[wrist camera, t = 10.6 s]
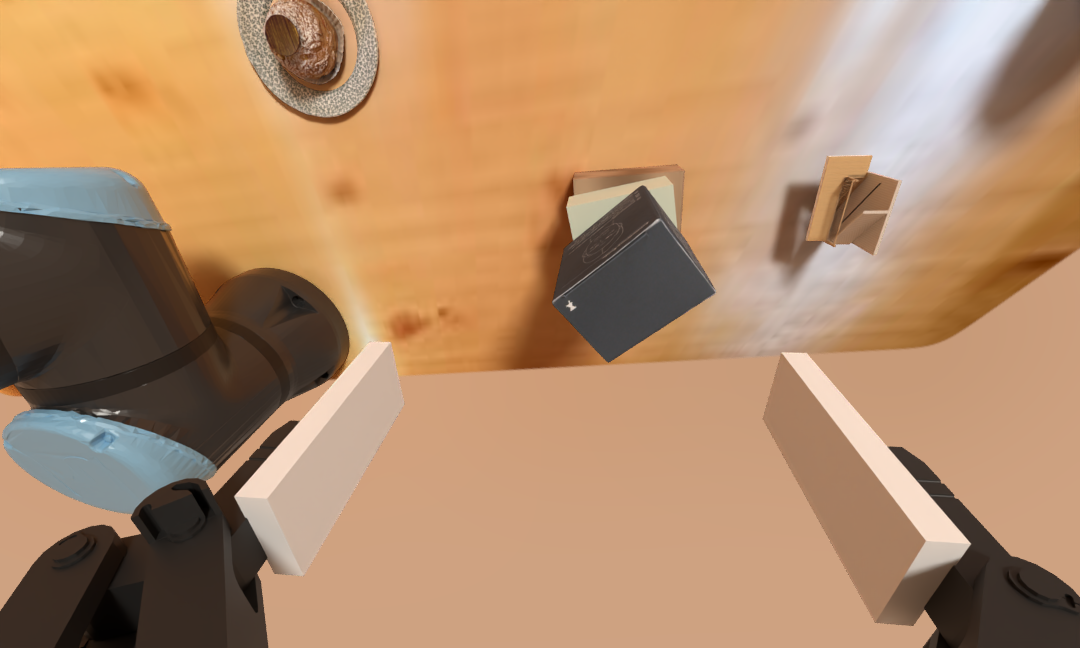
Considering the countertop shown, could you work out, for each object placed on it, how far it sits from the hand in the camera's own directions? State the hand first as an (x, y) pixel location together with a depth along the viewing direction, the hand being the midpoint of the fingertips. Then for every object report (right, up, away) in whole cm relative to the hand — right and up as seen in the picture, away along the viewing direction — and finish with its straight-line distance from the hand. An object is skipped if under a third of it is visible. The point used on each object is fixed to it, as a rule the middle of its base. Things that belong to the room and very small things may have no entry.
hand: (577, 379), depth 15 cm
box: (+5, +8, +19) cm, 21 cm away
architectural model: (+24, +13, +23) cm, 36 cm away
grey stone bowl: (-21, +26, +22) cm, 40 cm away
